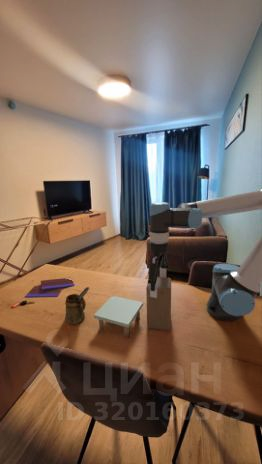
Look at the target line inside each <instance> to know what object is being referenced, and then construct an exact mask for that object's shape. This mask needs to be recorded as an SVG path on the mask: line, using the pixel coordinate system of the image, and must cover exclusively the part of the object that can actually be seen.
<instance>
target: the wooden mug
mask: <svg viewBox="0 0 262 464" xmlns="http://www.w3.org/2000/svg"><path fill="white" fill-rule="evenodd" d="M89 289H90V287H88V286H87V287H85V288H84V289H83V290H82V291H81V293H80V294H77V293H71V294H68V295H67V296H66V297H65V302H64V303H65V304H64V305H65V317H64V322H65V323H66V324H67V325H77V324H80V323H81V322H83V321H84V320H85V318H86V314H85V309H86V305H87V304H86V299H85V298H84V297H85V295H86V294H87V293H88V291H89Z"/></svg>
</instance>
